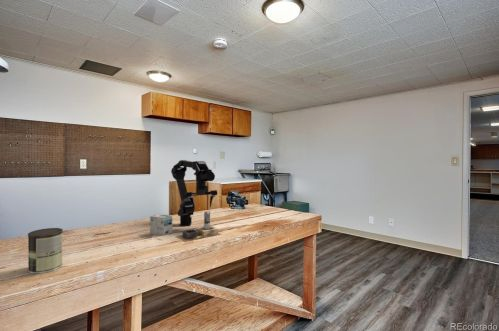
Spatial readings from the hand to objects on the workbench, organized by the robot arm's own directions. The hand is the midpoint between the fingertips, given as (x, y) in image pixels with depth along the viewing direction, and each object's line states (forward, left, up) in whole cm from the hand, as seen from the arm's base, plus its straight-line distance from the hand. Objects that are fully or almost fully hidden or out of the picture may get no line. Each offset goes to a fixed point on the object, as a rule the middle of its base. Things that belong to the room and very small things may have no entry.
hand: (202, 208), depth 151 cm
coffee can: (-54, -50, -14) cm, 75 cm away
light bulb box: (-22, -7, -14) cm, 27 cm away
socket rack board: (0, -14, -13) cm, 19 cm away
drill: (+4, -11, -12) cm, 17 cm away
